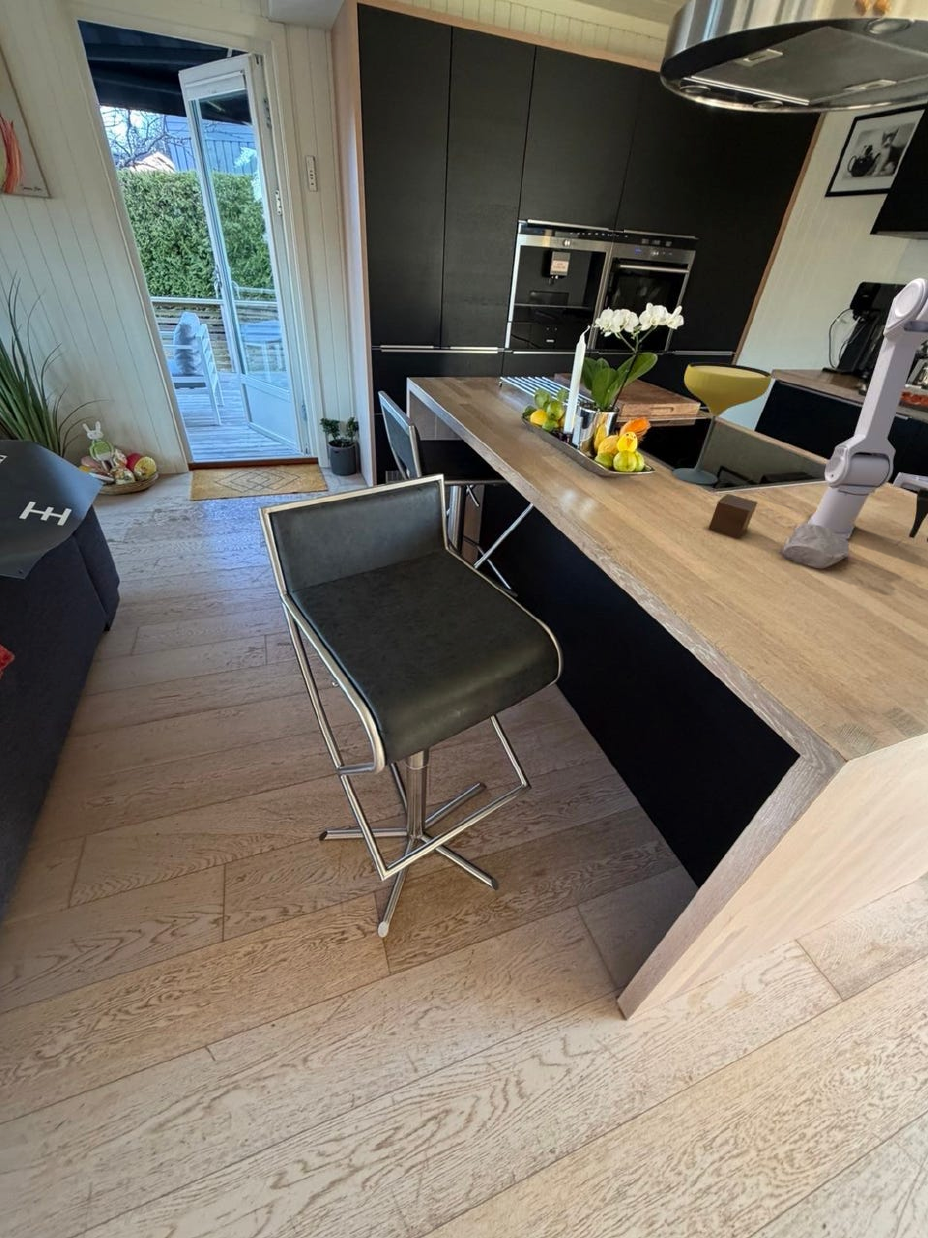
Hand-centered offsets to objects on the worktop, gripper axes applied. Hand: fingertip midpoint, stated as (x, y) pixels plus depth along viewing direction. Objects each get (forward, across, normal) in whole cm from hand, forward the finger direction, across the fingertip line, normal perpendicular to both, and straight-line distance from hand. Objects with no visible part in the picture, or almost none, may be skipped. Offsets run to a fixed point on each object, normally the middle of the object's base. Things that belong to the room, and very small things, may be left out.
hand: (920, 538), depth 88 cm
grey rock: (+9, -13, 0) cm, 16 cm away
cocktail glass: (+9, -45, +27) cm, 53 cm away
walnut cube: (+8, -29, 0) cm, 30 cm away
